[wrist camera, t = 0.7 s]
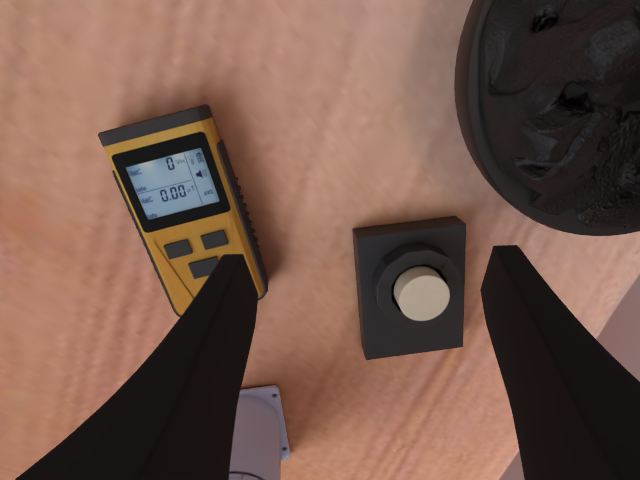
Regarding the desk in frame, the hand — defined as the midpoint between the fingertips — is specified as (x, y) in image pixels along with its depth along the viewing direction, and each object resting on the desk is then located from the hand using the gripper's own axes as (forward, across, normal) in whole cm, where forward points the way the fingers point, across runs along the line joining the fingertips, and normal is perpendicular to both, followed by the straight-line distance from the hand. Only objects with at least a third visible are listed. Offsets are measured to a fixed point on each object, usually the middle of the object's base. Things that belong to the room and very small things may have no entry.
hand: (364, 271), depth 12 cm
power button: (+12, -4, +18) cm, 22 cm away
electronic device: (+16, +14, +12) cm, 24 cm away
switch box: (+15, -3, +21) cm, 26 cm away
